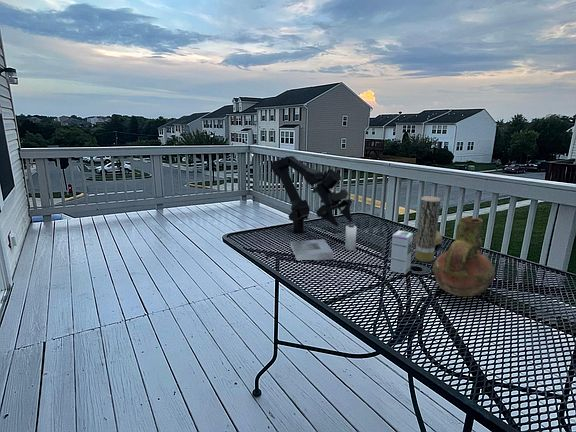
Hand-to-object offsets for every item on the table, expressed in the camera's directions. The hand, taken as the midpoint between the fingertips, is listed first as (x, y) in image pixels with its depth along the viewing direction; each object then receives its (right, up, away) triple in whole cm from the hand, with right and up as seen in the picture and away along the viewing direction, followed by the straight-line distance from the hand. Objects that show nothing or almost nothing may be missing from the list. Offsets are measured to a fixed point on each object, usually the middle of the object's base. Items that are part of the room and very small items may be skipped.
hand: (344, 223), depth 140 cm
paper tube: (+30, -14, -11) cm, 35 cm away
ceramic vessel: (+32, -21, -35) cm, 51 cm away
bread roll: (+37, -10, +2) cm, 38 cm away
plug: (+2, -11, +1) cm, 11 cm away
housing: (-15, -12, -4) cm, 20 cm away
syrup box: (+17, -17, -20) cm, 31 cm away
